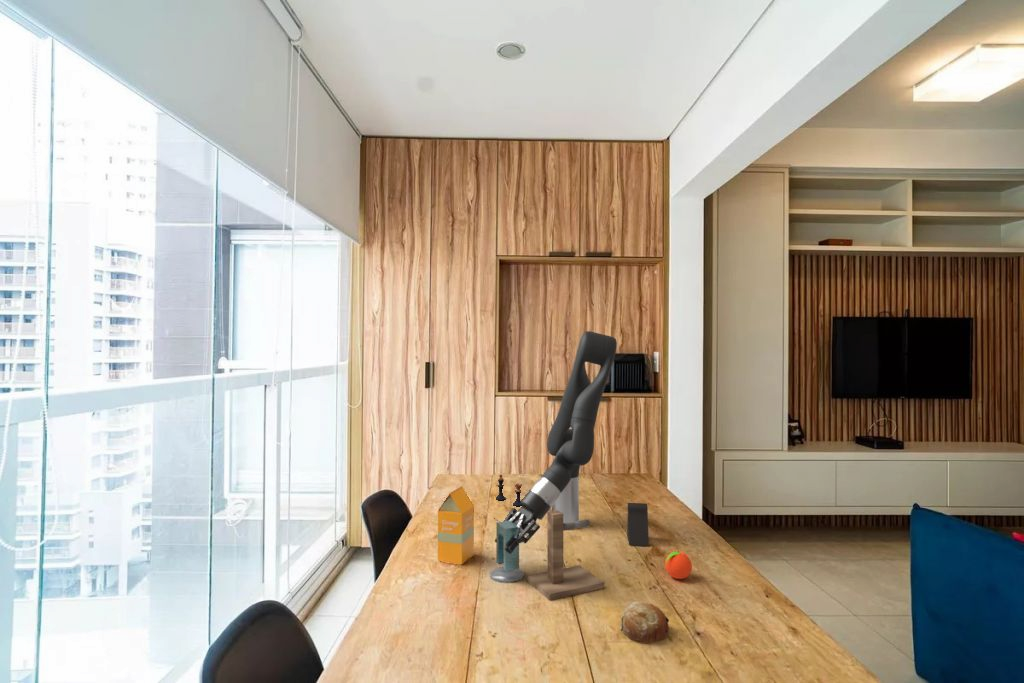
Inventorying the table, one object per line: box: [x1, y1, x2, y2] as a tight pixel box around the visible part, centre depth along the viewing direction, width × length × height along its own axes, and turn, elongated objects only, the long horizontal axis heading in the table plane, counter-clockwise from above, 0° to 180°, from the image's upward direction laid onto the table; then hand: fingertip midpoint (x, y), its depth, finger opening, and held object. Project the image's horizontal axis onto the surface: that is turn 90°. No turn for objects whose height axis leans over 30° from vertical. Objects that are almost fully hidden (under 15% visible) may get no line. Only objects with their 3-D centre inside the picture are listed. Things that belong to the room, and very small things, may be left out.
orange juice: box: [437, 486, 475, 565], centre depth 158 cm, size 8×9×20 cm
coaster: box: [489, 566, 525, 584], centre depth 146 cm, size 9×9×1 cm
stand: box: [527, 510, 606, 601], centre depth 140 cm, size 12×16×19 cm
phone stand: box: [626, 502, 650, 547], centre depth 172 cm, size 9×6×12 cm, turn 172°
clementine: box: [664, 550, 693, 580], centre depth 144 cm, size 8×7×7 cm
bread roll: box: [619, 600, 670, 644], centre depth 117 cm, size 10×10×8 cm
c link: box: [495, 521, 520, 571], centre depth 146 cm, size 6×4×11 cm, turn 25°
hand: (502, 547), depth 145 cm, fingers closed on c link, 6 cm apart
